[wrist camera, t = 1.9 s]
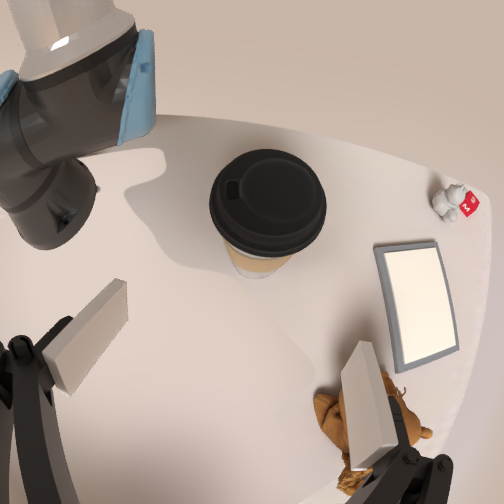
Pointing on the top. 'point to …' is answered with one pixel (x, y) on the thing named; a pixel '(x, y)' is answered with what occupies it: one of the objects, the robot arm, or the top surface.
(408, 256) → the picture frame
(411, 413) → the stuffed squirrel
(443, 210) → the light grey lumpy piece
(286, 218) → the coffee cup
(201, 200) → the top surface
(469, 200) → the dice
